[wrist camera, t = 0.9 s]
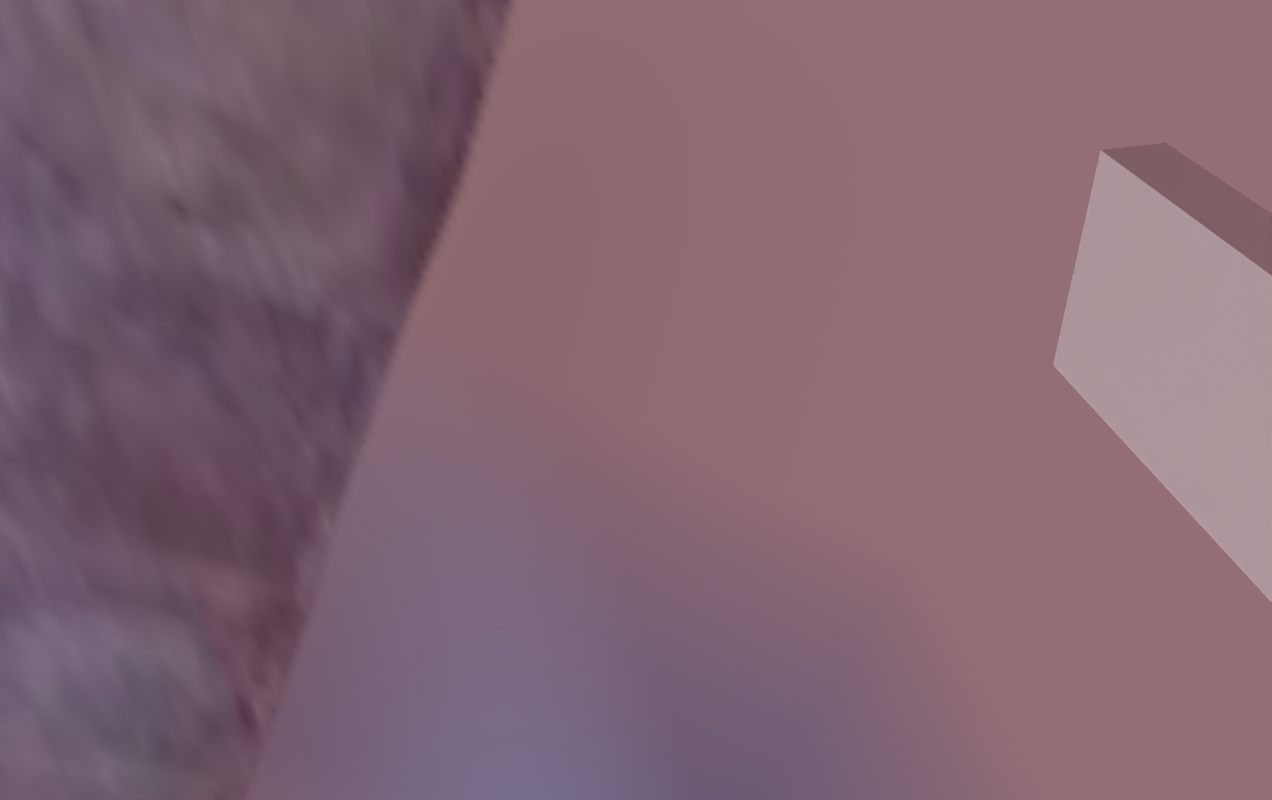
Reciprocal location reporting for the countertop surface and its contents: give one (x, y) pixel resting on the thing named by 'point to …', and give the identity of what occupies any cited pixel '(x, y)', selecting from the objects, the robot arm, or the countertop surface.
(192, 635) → the countertop surface
